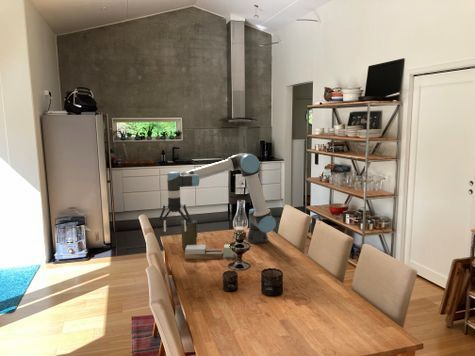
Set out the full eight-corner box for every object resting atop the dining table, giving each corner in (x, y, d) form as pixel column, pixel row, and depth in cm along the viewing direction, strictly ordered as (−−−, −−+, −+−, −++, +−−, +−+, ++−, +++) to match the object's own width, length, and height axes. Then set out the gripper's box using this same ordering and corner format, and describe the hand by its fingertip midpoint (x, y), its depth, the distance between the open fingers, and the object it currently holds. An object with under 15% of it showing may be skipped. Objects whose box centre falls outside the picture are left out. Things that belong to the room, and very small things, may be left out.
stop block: (224, 253, 244) (224, 244, 243) (233, 253, 244) (233, 244, 243) (224, 256, 238) (224, 247, 237) (233, 256, 238) (233, 247, 237)
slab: (187, 249, 244) (186, 244, 244) (205, 249, 245) (205, 244, 244) (185, 254, 236) (185, 249, 235) (204, 253, 236) (204, 249, 235)
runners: (186, 253, 245) (186, 249, 244) (222, 253, 245) (222, 248, 245) (184, 258, 236) (184, 254, 236) (221, 258, 236) (221, 253, 236)
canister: (179, 247, 257) (178, 218, 254) (185, 243, 267) (184, 215, 264) (194, 249, 254) (193, 220, 251) (200, 244, 264) (199, 216, 261)
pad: (223, 252, 246) (223, 252, 246) (235, 252, 246) (235, 252, 246) (222, 258, 236) (222, 257, 236) (235, 258, 236) (235, 257, 236)
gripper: (153, 198, 231) (154, 232, 234) (193, 197, 231) (194, 232, 234) (155, 196, 238) (156, 229, 241) (194, 195, 239) (195, 229, 242)
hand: (175, 231), depth 238 cm, fingers open, 12 cm apart
